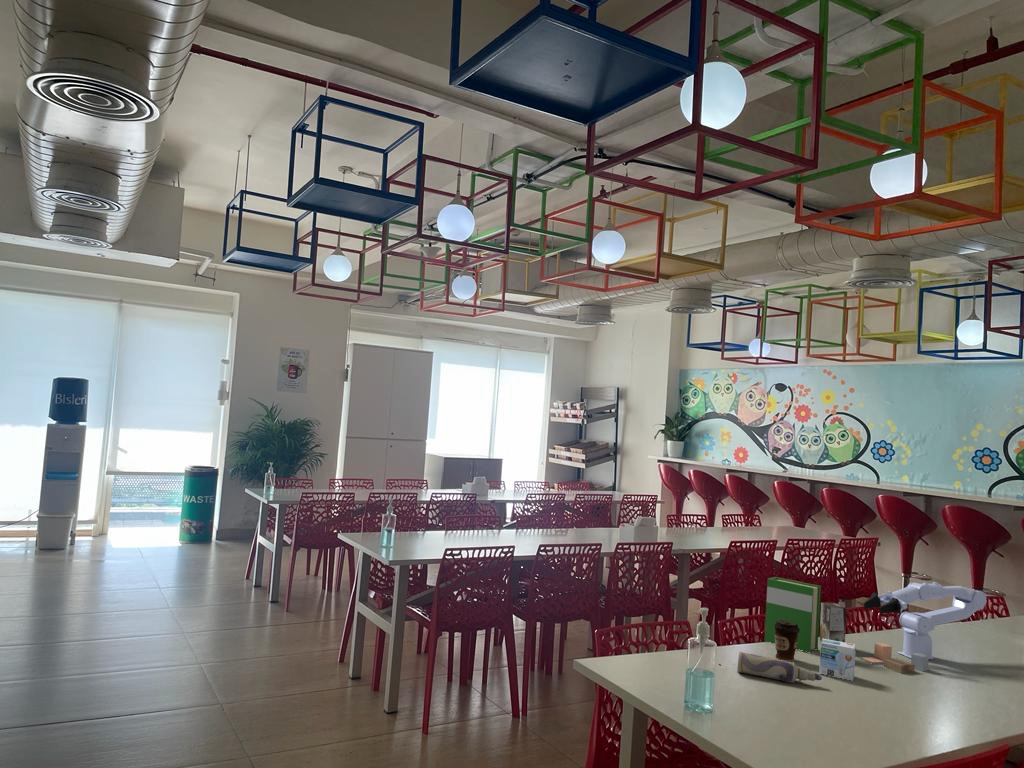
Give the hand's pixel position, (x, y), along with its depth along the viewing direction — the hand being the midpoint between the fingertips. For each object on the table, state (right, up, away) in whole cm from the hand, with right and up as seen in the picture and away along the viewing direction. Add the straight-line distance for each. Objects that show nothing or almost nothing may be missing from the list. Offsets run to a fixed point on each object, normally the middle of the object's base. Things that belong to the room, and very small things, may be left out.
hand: (872, 608), depth 272 cm
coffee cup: (-37, -15, -12) cm, 42 cm away
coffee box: (-11, -18, +9) cm, 23 cm away
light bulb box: (-25, -15, -27) cm, 40 cm away
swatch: (-3, -18, -6) cm, 19 cm away
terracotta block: (+3, -18, -1) cm, 19 cm away
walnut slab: (+2, -18, -14) cm, 23 cm away
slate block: (+11, -18, -12) cm, 24 cm away
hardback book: (-28, -17, +7) cm, 33 cm away
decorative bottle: (-50, -12, -36) cm, 62 cm away
